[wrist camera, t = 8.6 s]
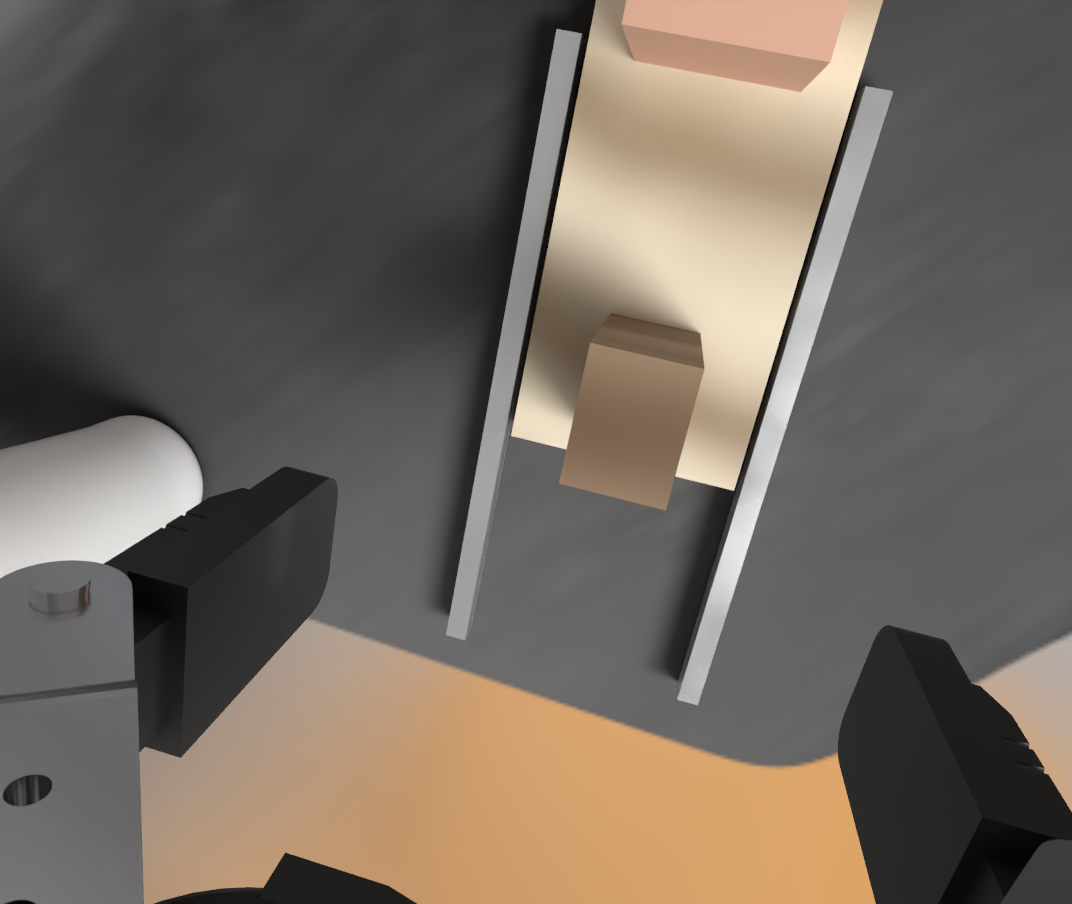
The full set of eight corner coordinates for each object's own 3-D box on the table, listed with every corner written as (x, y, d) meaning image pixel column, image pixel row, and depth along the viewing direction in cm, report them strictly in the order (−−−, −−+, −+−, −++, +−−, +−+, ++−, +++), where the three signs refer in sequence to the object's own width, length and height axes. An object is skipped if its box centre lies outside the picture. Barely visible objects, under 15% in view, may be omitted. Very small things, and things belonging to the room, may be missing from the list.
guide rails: (562, 36, 25) (556, 28, 24) (883, 96, 24) (893, 91, 23) (454, 620, 32) (446, 635, 31) (697, 687, 31) (697, 705, 30)
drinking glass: (242, 542, 33) (-87, 790, 19) (106, 549, 34) (-295, 786, 20) (203, 386, 31) (-195, 534, 17) (60, 401, 33) (-416, 549, 18)
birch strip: (664, -308, 22) (654, -552, 15) (955, -269, 21) (1091, -510, 14) (519, 424, 29) (466, 493, 22) (731, 476, 28) (746, 566, 21)
